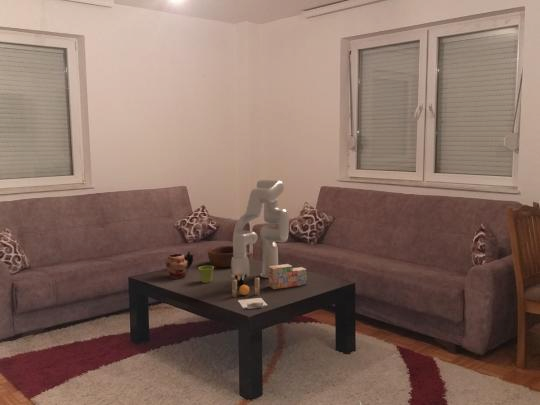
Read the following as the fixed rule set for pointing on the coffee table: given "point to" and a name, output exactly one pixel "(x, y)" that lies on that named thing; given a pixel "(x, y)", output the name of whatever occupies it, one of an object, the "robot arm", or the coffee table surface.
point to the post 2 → (257, 286)
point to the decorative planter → (176, 265)
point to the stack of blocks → (286, 276)
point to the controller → (189, 259)
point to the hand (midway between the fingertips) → (240, 286)
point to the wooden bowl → (221, 256)
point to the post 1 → (234, 288)
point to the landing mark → (244, 302)
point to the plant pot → (206, 273)
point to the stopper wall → (255, 305)
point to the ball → (244, 289)
